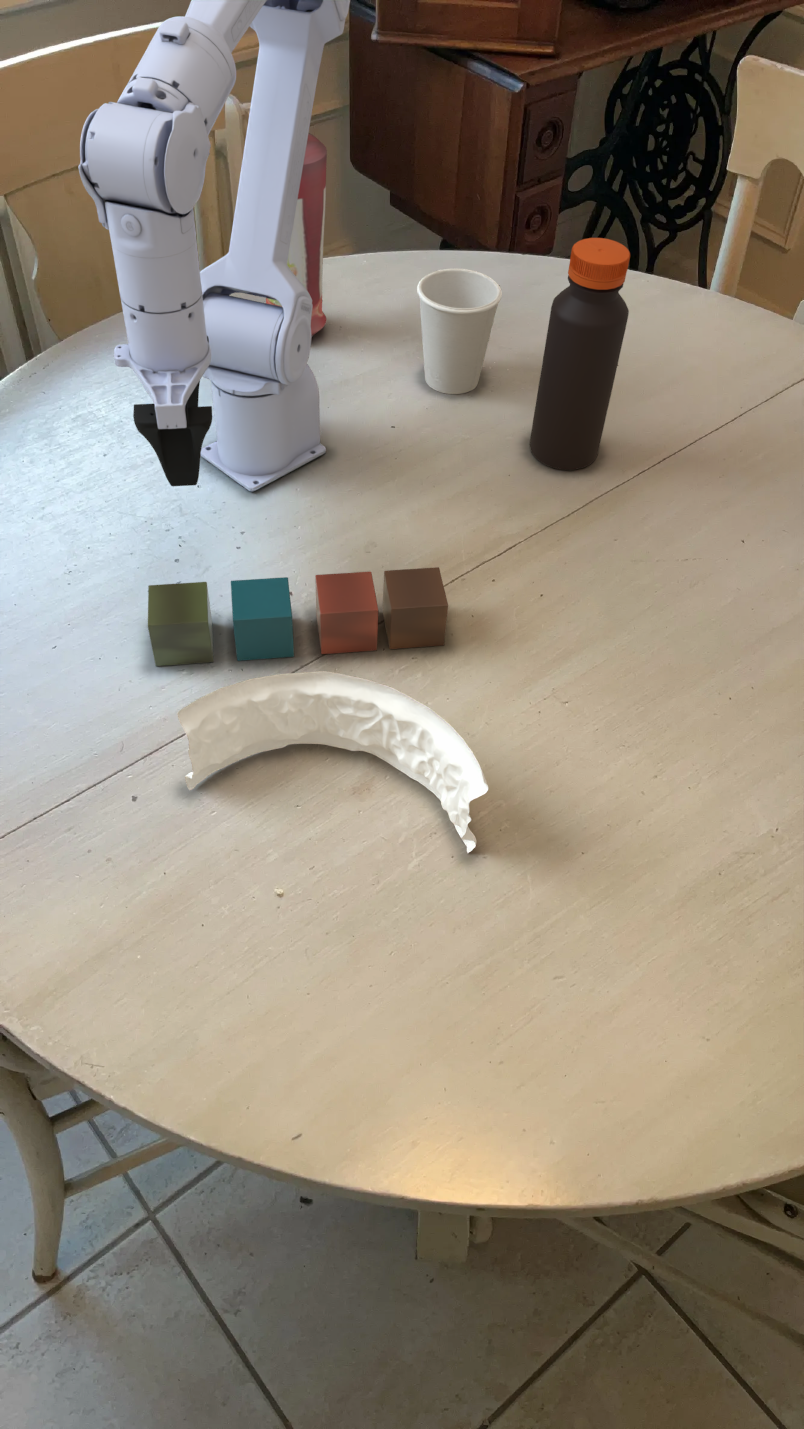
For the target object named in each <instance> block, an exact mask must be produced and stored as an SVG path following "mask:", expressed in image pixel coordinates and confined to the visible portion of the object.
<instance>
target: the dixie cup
mask: <svg viewBox="0 0 804 1429" xmlns="http://www.w3.org/2000/svg"><path fill="white" fill-rule="evenodd" d="M416 292H417V295H418V297H419V312H420V325H421V339H422V354H423V367H424V368H423V370H424V381H425V383H426V384H427V385H428V387H429V388H431V389H432V390H434V391H436V392H439V393H442V394H446V395H447V394H448V395H461V394H466V393H469V392H471V391H473V390H475V389H476V387H477V386H478V385H479V381H480V377H481V373H482V369H483V365H484V361H485V356H486V353H487V349H488V346H489V341H490V337H491V333H492V329H493V324H494V321H495V317H496V312H497V308H498V304H499V303H500V302H501V300H502V296H503V292H502V288H501V286H500V284H498V282H497V281H495V279H493V278H492V277H490V276H489V275H487V274H485V273H482V272H479V271H476V270H473V269H467V268H444V269H438V270H435V271H431V272H429V273H427V274H426V275H424V277H422V278H421V279H420V280H419V282H418V283H417V287H416Z"/></svg>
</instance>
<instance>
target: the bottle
mask: <svg viewBox="0 0 804 1429" xmlns="http://www.w3.org/2000/svg"><path fill="white" fill-rule="evenodd" d="M630 259H631V252H630V250H629V249H628V247H627V246H625V245H623V244H622V243H620V242H619V241H616V240H613V239H609V238H603V237H589V238H583V239H580V240H578V241H577V242H575V243H574V244H573V245H572V247H571V252H570V258H569V263H568V269H567V270H568V271H567V274H568V275H567V281H568V283H569V285H568V286H567V287H565V288H564V289H563V290H562V291H560V292H559V293H557V295H556V296H555V297H554V298H553V300H552V304H551V307H550V313H549V320H548V326H547V331H546V338H545V344H544V351H543V355H542V356H543V357H542V363H541V370H540V376H539V381H538V388H537V394H536V400H535V406H534V407H535V408H534V414H533V420H532V426H531V432H530V438H529V444H528V445H529V449H530V451H531V454H532V456H533V457H534V458H535V459H536V460H537V461H539V462H540V463H542V464H543V465H545V466H547V467H550V468H553V469H557V470H562V471H575V470H580V469H583V468H586V467H588V466H590V465H591V464H593V462H595V460H596V459H597V457H598V456H599V450H600V447H601V441H602V437H603V432H604V428H605V424H606V418H607V414H608V410H609V405H610V401H611V396H612V392H613V387H614V382H615V379H616V374H617V369H618V364H619V360H620V355H621V351H622V346H623V342H624V338H625V334H626V329H627V324H628V320H629V314H630V311H629V307H628V305H627V303H626V301H625V299H624V298H623V297H622V296H621V294H620V293H619V292H620V291H621V290H622V289H623V288H624V284H625V282H626V277H627V272H628V268H629V264H630Z"/></svg>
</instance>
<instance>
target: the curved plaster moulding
mask: <svg viewBox="0 0 804 1429" xmlns="http://www.w3.org/2000/svg"><path fill="white" fill-rule="evenodd" d="M176 715H177V718H178V721H179V723H180V726H181V727H182V729H183V731H184V733H185V735H186V737H187V740H188V749H187V753H188V758H189V760H190V763H191V770H192V771H190V772H188V773H187V774H186V775H185V776H184V781H185V783H186V787H187V789H188V790H189V791H192V790H193V789H195V788H196V786H197V785H198V784H200V783H201V782H203V781H204V780H206V778H207V777H209V776H211V775H212V774H213V773H215V772H218V770H221V769H224V768H226V767H228V766H229V765H232V764H234V763H236V762H238V761H241V760H243V759H246V758H248V757H250V756H253V755H256V754H259V753H262V752H263V753H264V752H268V751H271V750H276V749H283V748H285V747H286V746H289V745H297V744H298V745H299V744H305V745H306V744H310V745H312V744H313V745H314V744H315V745H326V746H329V747H334V748H339V749H344V750H347V751H351V752H359V751H360V752H365V753H368V754H370V755H373V756H375V757H377V758H379V759H381V760H382V761H383V762H385V763H387V764H389V765H390V766H392V767H393V768H394V769H396V770H398V771H400V772H401V773H403V774H404V775H406V776H408V778H410V779H412V780H414V781H416V782H418V783H419V784H421V785H422V786H424V787H425V789H427V790H428V791H430V792H431V793H432V794H434V796H436V798H437V799H438V800H439V801H440V804H441V808H442V809H443V810H444V811H446V813H447V814H448V818H449V821H450V822H451V823H452V824H453V825H454V828H455V830H456V832H457V834H458V835H459V837H460V840H461V841H462V842H463V844H464V845H465V846H466V852H467V854H469V853H470V852H472V851H473V850H474V849H475V848H476V845H477V838H476V836H475V834H474V833H473V832H472V830H471V829H470V827H469V826H468V824H469V823H470V822H471V821H472V817H471V815H470V803H471V802H472V801H473V800H476V799H479V797H481V796H484V795H485V794H486V793H487V792H488V791H489V785H488V782H487V779H486V776H485V773H484V770H483V769H482V766H481V765H480V762H479V761H478V759H477V758H476V756H475V753H474V752H473V750H472V749H471V748H470V746H469V745H468V743H467V742H466V741H465V739H464V738H463V737H462V736H461V735H460V734H459V732H458V731H457V730H456V729H455V728H454V727H453V726H452V725H451V724H450V723H449V722H447V721H446V720H445V719H444V718H443V717H442V716H440V715H439V714H438V713H437V712H436V711H434V710H433V709H432V708H430V707H429V706H428V705H427V704H424V703H422V702H420V701H418V700H416V699H414V698H413V697H411V696H409V695H408V694H406V693H404V692H403V691H401V690H397V689H396V688H395V687H392V686H389V685H387V684H384V683H380V682H377V681H375V680H370V679H367V678H362V677H358V676H353V675H348V674H344V673H340V672H334V671H328V670H320V671H319V670H318V671H306V672H305V671H304V672H303V671H302V672H289V673H287V672H286V673H277V674H272V675H266V676H265V675H264V676H260V677H253V678H250V679H246V680H243V681H239V682H237V683H233V684H230V685H226V686H223V687H220V688H217V689H216V690H214V691H212V692H210V693H207V694H205V695H204V696H201V697H199V698H197V699H196V700H194V701H193V702H191V703H189V704H187V705H186V706H184V707H182V708H181V709H179V710H178V711H177V713H176Z"/></svg>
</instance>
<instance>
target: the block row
mask: <svg viewBox="0 0 804 1429" xmlns="http://www.w3.org/2000/svg"><path fill="white" fill-rule="evenodd" d="M314 576H315V577H314V578H315V579H314V580H315V615H316V616H315V617H316V622H317V623H316V624H317V625H316V626H317V632H318V640H319V647H320V654H321V655H329V654H331V655H333V654H344V653H358V652H371V651H372V652H373V651H377V650H378V636H379V635H378V632H379V606H378V600H377V594H376V589H375V584H374V579H373V573H372V571H370V570H369V571H357V572H355V571H354V572H339V573H323V574H315V575H314ZM147 586H148V589H147V630H148V634H149V640H150V646H151V650H152V656H153V660H154V665H155V667H163V666H177V665H179V666H180V665H192V664H206V663H214V637H213V636H214V635H213V633H214V632H213V618H212V610H211V603H210V596H209V595H210V594H209V588H208V587H209V586H208V582H207V581H196V582H182V583H181V582H179V583H165V584H164V583H163V584H149V585H147ZM381 612H382V616H383V622H384V627H385V628H384V629H385V632H386V637H387V643H388V649H389V650H397V649H411V648H413V649H414V648H425V647H439V646H444V645H445V642H446V641H445V640H446V631H447V622H448V613H449V603H448V598H447V594H446V589H445V585H444V582H443V578H442V573H441V569H440V567H438V566H437V567H421V568H407V569H391V570H389V569H387V570H384V571H383V586H382V611H381Z"/></svg>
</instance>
